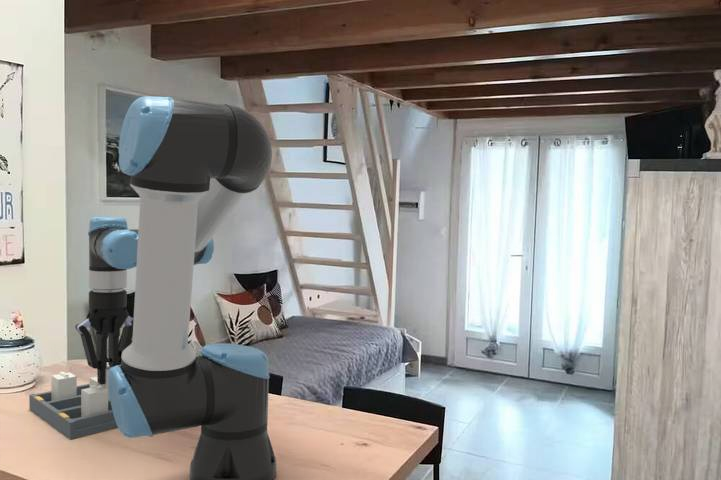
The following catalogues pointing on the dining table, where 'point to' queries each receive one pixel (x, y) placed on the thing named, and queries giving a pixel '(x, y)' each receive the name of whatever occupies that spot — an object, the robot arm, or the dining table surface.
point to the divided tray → (70, 415)
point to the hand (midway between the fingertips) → (107, 397)
